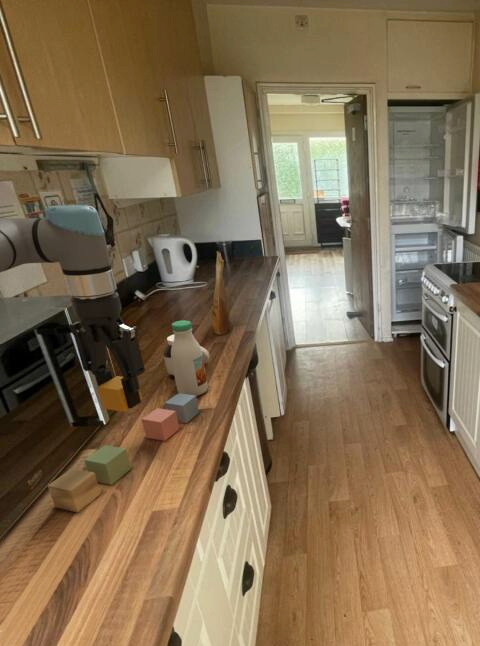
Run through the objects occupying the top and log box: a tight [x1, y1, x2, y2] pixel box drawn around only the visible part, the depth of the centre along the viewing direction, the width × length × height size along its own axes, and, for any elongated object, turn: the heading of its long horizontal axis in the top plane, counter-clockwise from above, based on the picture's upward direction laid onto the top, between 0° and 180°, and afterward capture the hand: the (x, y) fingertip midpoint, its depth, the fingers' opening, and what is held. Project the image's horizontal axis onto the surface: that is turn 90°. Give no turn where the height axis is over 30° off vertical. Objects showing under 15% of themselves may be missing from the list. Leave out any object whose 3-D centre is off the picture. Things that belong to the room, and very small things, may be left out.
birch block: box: [47, 467, 102, 513], centre depth 78 cm, size 5×5×5 cm
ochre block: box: [96, 375, 143, 413], centre depth 87 cm, size 5×5×5 cm
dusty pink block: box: [141, 407, 180, 442], centre depth 98 cm, size 5×5×5 cm
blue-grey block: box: [164, 392, 200, 424], centre depth 105 cm, size 5×5×5 cm
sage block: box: [83, 444, 132, 486], centre depth 85 cm, size 5×5×5 cm
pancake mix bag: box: [212, 250, 230, 336], centre depth 158 cm, size 7×19×28 cm, turn 16°
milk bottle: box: [171, 319, 209, 397], centre depth 114 cm, size 8×8×20 cm
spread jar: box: [163, 334, 211, 378], centre depth 127 cm, size 12×11×12 cm
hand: (122, 403), depth 88 cm, fingers closed on ochre block, 5 cm apart
